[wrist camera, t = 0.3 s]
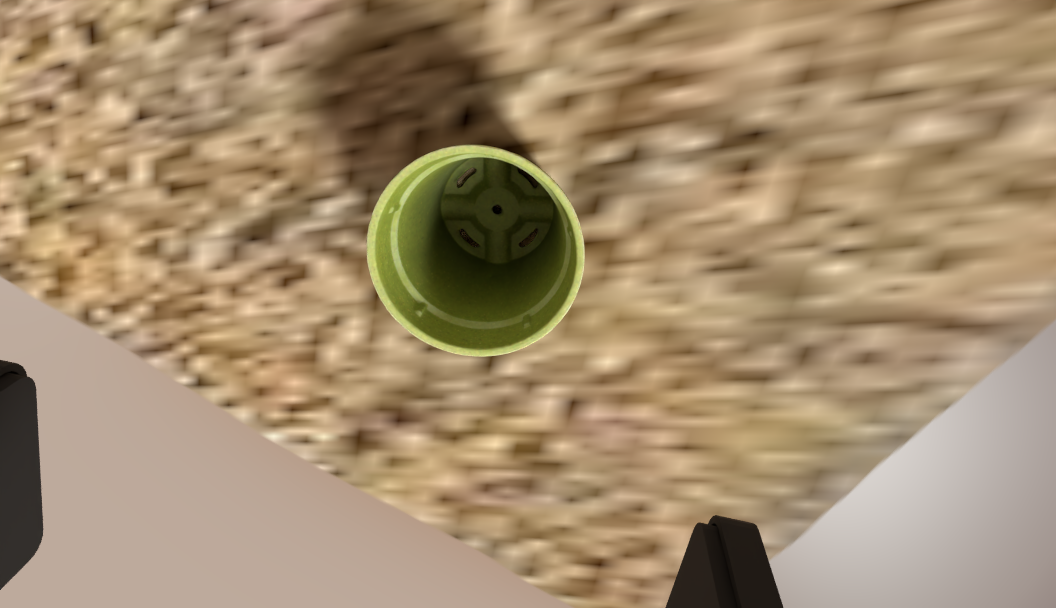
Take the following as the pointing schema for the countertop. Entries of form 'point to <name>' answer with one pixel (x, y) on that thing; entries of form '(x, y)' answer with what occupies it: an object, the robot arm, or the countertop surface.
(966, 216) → the countertop surface
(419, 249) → the plant pot
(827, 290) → the countertop surface
